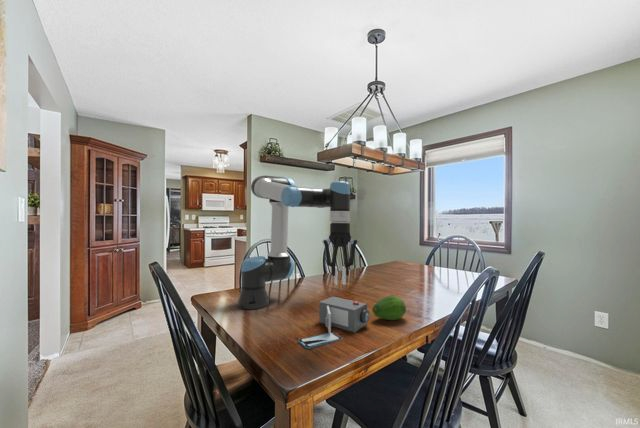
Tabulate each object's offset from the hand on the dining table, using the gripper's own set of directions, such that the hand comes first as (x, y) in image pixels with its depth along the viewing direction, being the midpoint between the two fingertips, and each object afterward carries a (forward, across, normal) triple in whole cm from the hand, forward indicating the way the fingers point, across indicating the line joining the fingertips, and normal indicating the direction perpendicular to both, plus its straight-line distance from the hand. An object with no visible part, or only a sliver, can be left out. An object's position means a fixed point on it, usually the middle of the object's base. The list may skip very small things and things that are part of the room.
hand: (339, 284), depth 107 cm
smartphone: (+19, -8, -5) cm, 21 cm away
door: (+18, -4, +3) cm, 18 cm away
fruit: (+19, +24, +10) cm, 32 cm away
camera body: (+19, +3, +9) cm, 21 cm away
